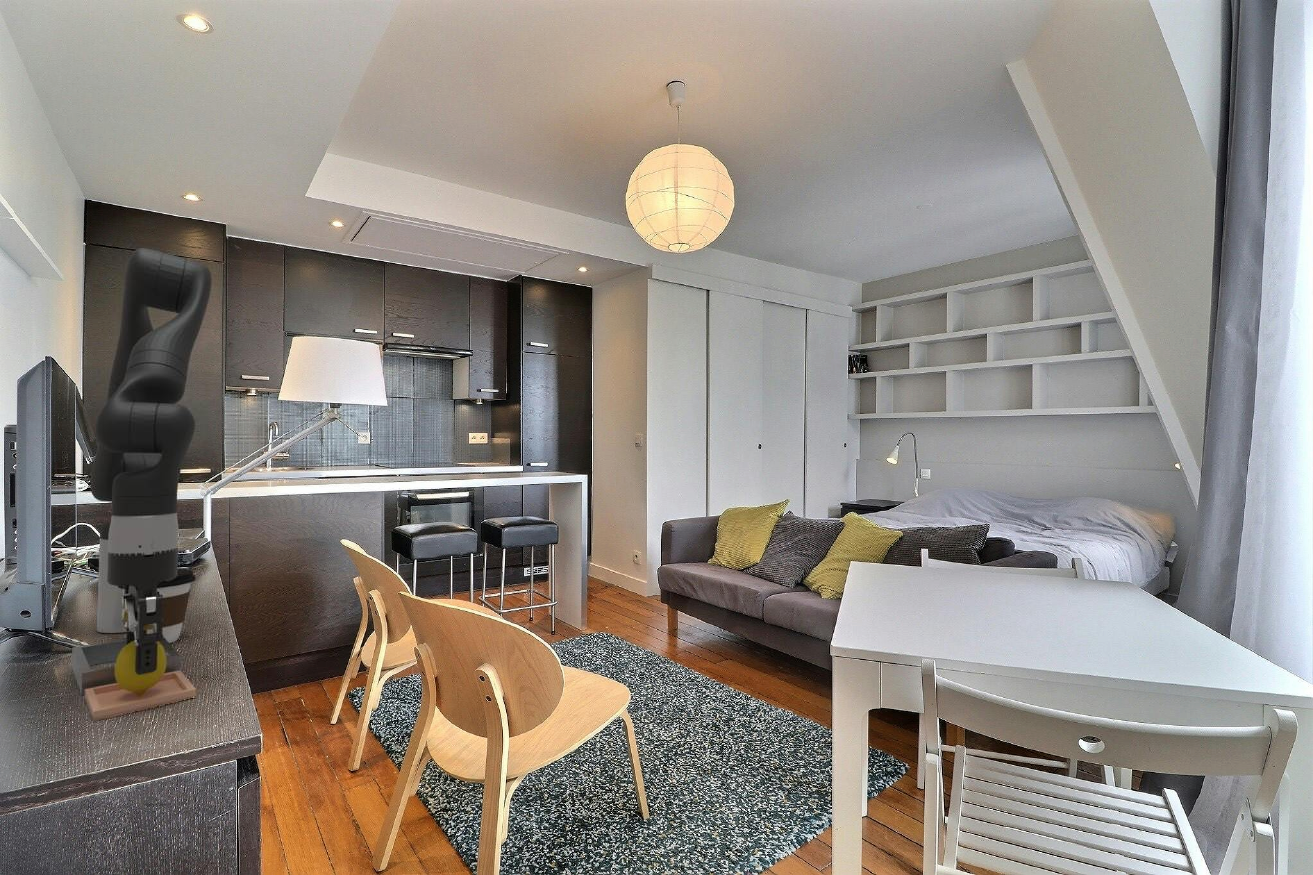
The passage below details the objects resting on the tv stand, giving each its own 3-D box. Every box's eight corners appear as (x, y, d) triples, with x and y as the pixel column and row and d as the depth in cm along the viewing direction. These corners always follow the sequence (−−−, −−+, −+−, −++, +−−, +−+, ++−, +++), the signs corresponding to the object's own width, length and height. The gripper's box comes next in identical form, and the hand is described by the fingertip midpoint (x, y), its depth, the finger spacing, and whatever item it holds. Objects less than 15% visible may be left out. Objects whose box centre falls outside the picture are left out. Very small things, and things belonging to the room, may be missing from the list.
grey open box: (71, 667, 98) (71, 647, 98) (160, 651, 106) (160, 633, 106) (81, 695, 87) (82, 673, 87) (179, 675, 95) (180, 655, 95)
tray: (84, 698, 86) (84, 689, 86) (180, 678, 94) (180, 670, 94) (93, 721, 79) (93, 711, 79) (195, 697, 87) (196, 689, 87)
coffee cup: (184, 647, 108) (185, 577, 109) (104, 654, 104) (106, 582, 105) (202, 630, 119) (203, 566, 119) (130, 636, 114) (132, 570, 115)
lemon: (136, 704, 83) (138, 643, 84) (102, 700, 84) (104, 640, 85) (176, 689, 89) (177, 632, 89) (144, 685, 90) (145, 629, 90)
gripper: (102, 543, 89) (98, 659, 89) (115, 556, 79) (111, 686, 79) (168, 538, 95) (165, 647, 94) (188, 550, 85) (185, 671, 84)
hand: (140, 664), depth 87 cm, fingers open, 8 cm apart
